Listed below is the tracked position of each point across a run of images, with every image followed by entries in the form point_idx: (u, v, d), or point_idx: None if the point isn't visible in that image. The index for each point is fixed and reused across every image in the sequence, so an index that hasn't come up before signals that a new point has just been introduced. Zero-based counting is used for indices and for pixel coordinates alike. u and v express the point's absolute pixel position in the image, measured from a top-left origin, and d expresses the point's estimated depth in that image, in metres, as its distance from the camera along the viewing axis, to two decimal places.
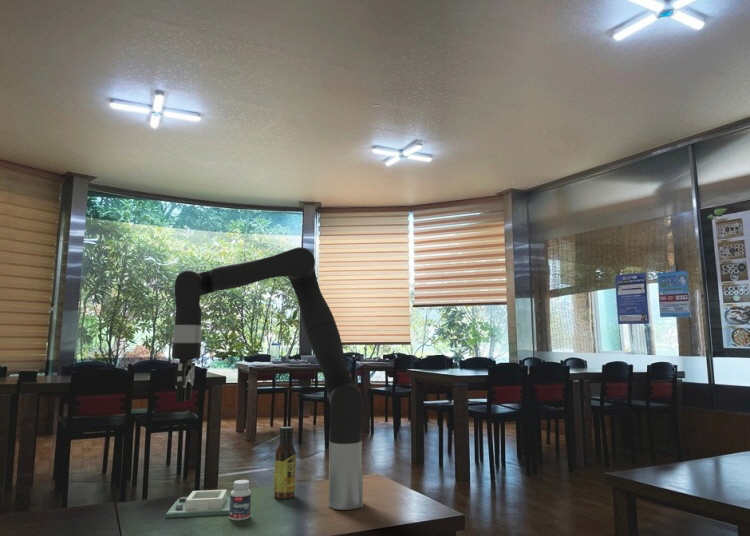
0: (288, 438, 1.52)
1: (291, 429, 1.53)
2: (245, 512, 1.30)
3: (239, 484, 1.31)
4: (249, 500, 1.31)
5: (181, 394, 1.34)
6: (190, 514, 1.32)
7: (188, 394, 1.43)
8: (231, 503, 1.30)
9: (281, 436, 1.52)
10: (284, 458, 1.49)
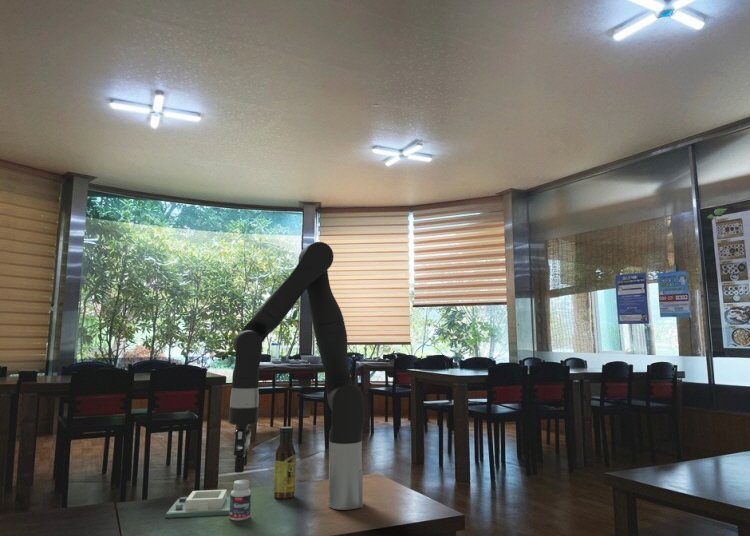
0: (288, 438, 1.52)
1: (291, 429, 1.53)
2: (245, 512, 1.30)
3: (239, 484, 1.31)
4: (249, 500, 1.31)
5: (240, 464, 1.28)
6: (190, 514, 1.32)
7: (244, 459, 1.37)
8: (231, 503, 1.30)
9: (281, 436, 1.52)
10: (284, 458, 1.49)
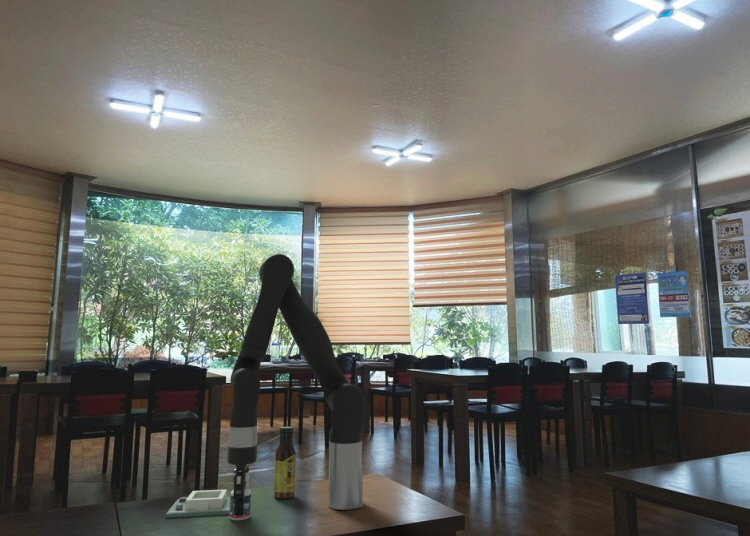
0: (288, 438, 1.52)
1: (291, 429, 1.53)
2: (245, 512, 1.30)
3: None
4: (249, 500, 1.31)
5: (240, 507, 1.28)
6: (190, 514, 1.32)
7: None
8: (231, 503, 1.30)
9: (281, 436, 1.52)
10: (284, 458, 1.49)
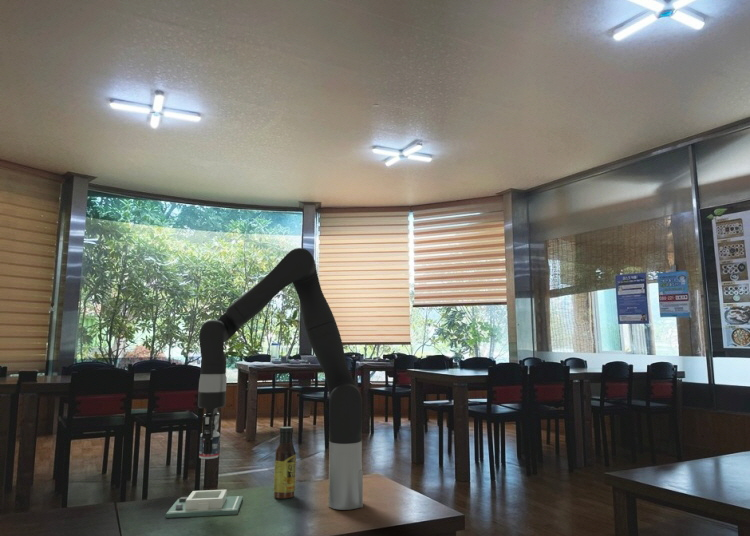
0: (288, 438, 1.52)
1: (291, 429, 1.53)
2: (214, 452, 1.40)
3: None
4: (217, 441, 1.42)
5: (209, 446, 1.38)
6: (190, 514, 1.32)
7: None
8: (201, 443, 1.40)
9: (281, 436, 1.52)
10: (284, 458, 1.49)
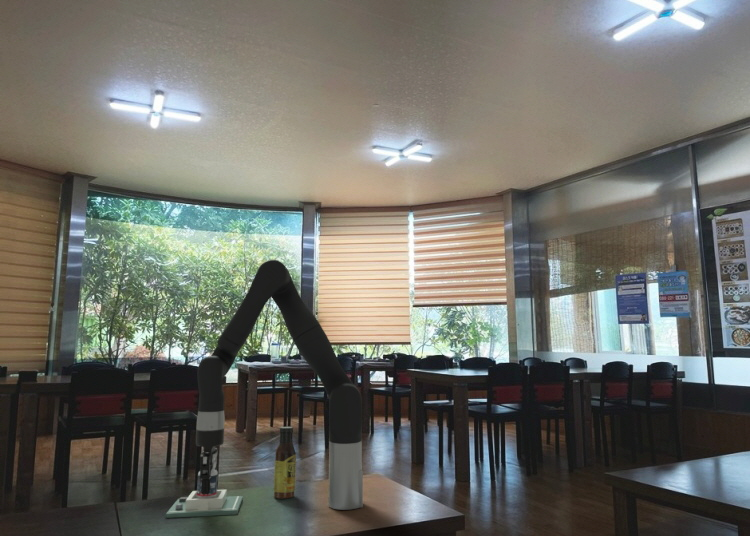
0: (288, 438, 1.52)
1: (291, 429, 1.53)
2: (211, 491, 1.38)
3: None
4: (215, 480, 1.40)
5: (206, 486, 1.37)
6: (190, 514, 1.32)
7: None
8: (198, 482, 1.39)
9: (281, 436, 1.52)
10: (284, 458, 1.49)
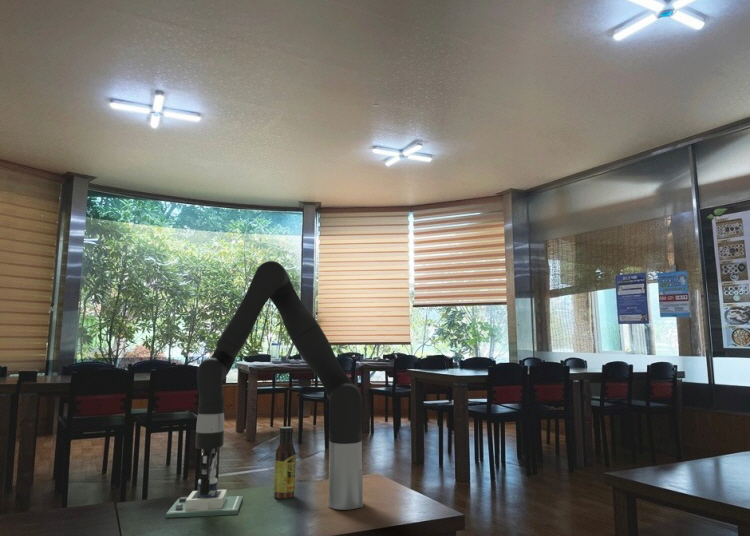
0: (288, 438, 1.52)
1: (291, 429, 1.53)
2: None
3: (206, 472, 1.39)
4: (215, 487, 1.40)
5: (206, 486, 1.35)
6: (190, 514, 1.32)
7: None
8: (198, 490, 1.38)
9: (281, 436, 1.52)
10: (284, 458, 1.49)
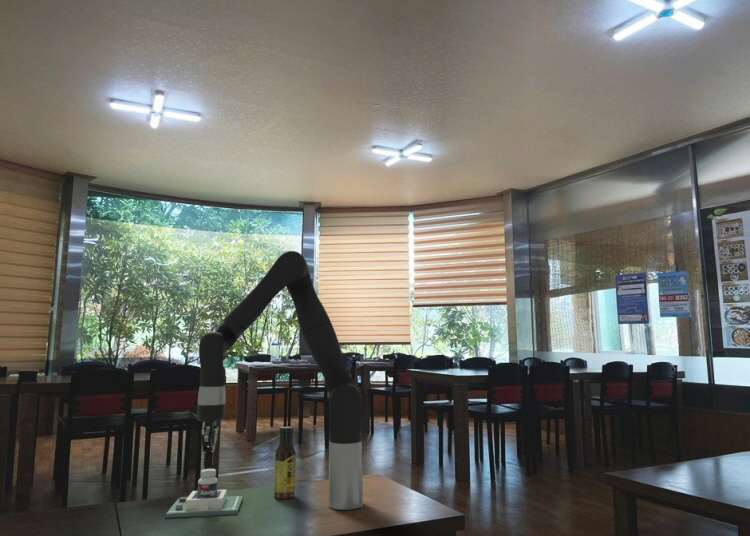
0: (288, 438, 1.52)
1: (291, 429, 1.53)
2: None
3: (206, 472, 1.39)
4: (215, 487, 1.40)
5: (209, 459, 1.40)
6: (190, 514, 1.32)
7: None
8: (198, 490, 1.38)
9: (281, 436, 1.52)
10: (284, 458, 1.49)
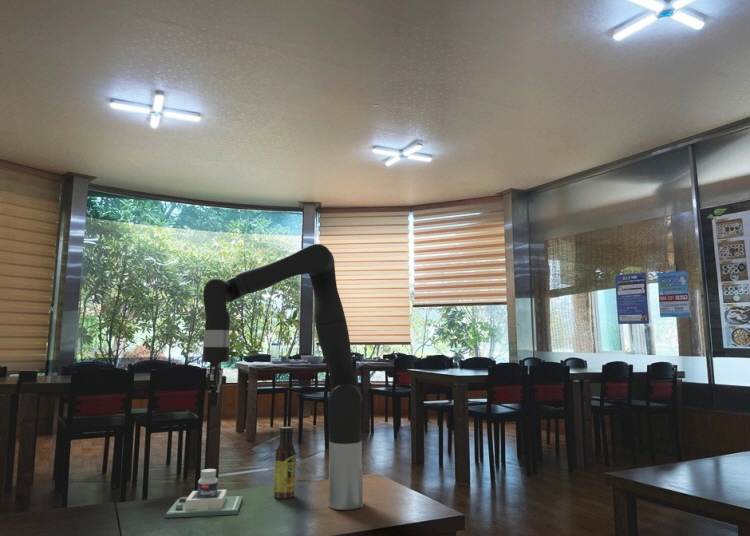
0: (288, 438, 1.52)
1: (291, 429, 1.53)
2: None
3: (206, 472, 1.39)
4: (215, 488, 1.40)
5: (214, 398, 1.47)
6: (190, 514, 1.32)
7: None
8: (198, 490, 1.38)
9: (281, 436, 1.52)
10: (284, 458, 1.49)
